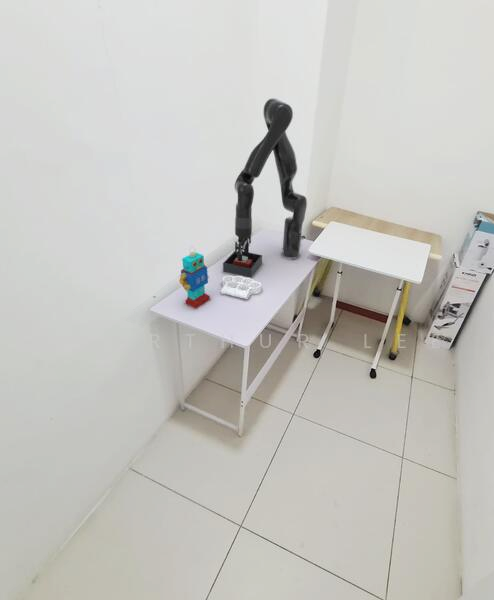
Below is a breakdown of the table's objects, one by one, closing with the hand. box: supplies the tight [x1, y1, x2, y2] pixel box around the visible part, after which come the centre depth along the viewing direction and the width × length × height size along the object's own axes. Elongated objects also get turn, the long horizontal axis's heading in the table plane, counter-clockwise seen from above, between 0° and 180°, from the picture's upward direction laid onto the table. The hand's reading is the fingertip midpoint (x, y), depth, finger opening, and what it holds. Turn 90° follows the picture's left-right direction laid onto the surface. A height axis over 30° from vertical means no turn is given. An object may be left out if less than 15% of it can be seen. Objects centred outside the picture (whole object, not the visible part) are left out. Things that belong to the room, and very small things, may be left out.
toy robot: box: [178, 246, 211, 309], centre depth 132 cm, size 12×6×25 cm, turn 148°
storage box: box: [222, 250, 263, 279], centre depth 163 cm, size 15×14×5 cm
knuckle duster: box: [220, 274, 262, 300], centre depth 148 cm, size 3×18×15 cm
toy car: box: [234, 256, 252, 268], centre depth 162 cm, size 8×4×5 cm, turn 74°
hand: (243, 256), depth 160 cm, fingers open, 8 cm apart
